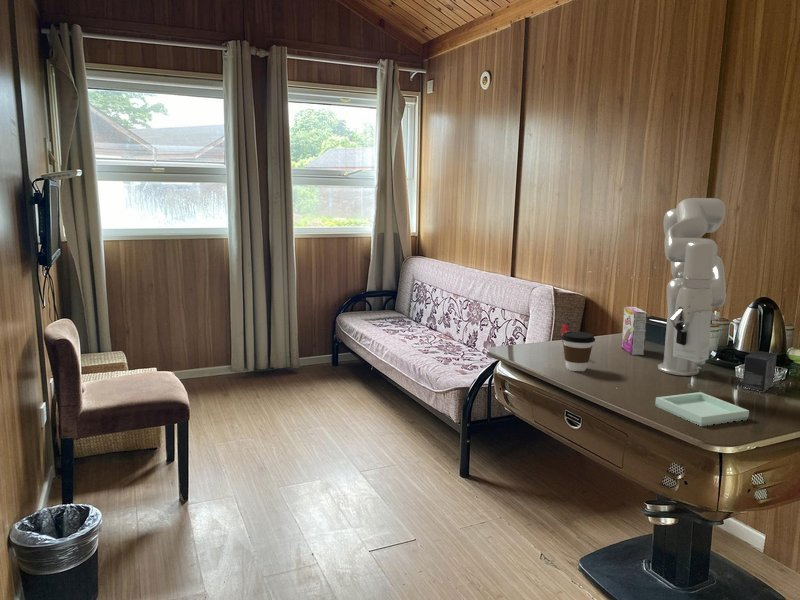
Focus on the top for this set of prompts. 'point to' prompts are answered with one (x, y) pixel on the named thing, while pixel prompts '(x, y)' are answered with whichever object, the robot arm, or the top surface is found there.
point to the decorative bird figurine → (564, 330)
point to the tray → (701, 408)
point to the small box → (759, 370)
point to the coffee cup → (577, 349)
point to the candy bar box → (634, 330)
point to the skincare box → (695, 338)
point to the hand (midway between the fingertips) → (690, 342)
